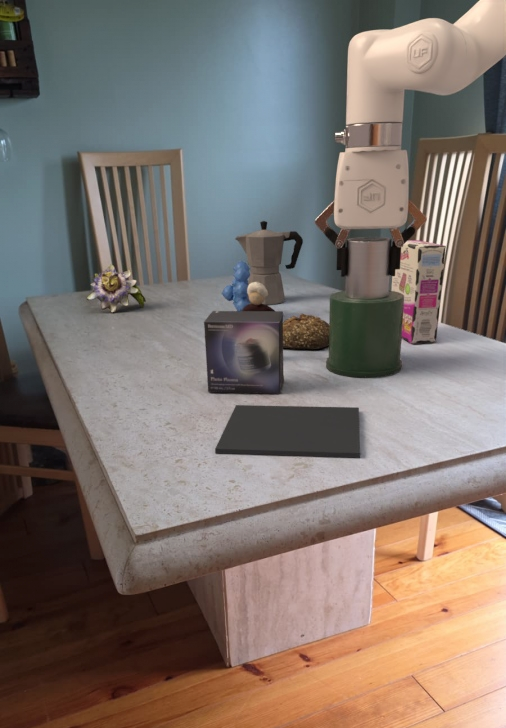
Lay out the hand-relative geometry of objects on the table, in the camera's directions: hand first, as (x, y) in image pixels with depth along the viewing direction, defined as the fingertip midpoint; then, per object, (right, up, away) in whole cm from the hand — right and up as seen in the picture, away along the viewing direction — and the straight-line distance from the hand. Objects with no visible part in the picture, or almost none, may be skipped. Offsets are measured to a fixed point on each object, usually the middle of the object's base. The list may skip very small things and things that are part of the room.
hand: (367, 273), depth 92 cm
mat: (-12, -24, -17) cm, 32 cm away
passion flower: (-49, +7, +54) cm, 73 cm away
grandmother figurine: (-16, -11, +11) cm, 22 cm away
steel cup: (0, -3, +1) cm, 3 cm away
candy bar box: (+12, -5, +22) cm, 25 cm away
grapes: (-20, +1, +37) cm, 42 cm away
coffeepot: (-13, +9, +56) cm, 58 cm away
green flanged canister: (0, -13, +6) cm, 14 cm away
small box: (-18, -17, -2) cm, 25 cm away
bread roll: (-8, -7, +21) cm, 23 cm away
